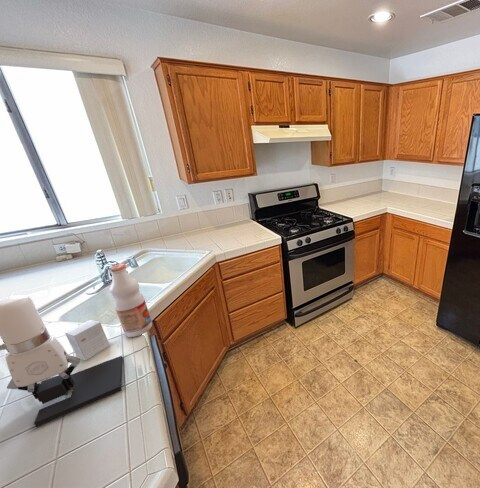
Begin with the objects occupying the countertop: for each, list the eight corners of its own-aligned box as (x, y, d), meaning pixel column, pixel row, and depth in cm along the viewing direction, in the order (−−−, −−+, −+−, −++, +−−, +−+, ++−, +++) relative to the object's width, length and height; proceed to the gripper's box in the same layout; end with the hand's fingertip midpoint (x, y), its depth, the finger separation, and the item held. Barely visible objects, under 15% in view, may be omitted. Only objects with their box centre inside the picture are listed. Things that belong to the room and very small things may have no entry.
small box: (101, 342, 99) (91, 318, 95) (110, 345, 97) (100, 321, 93) (75, 357, 92) (64, 332, 88) (85, 361, 90) (73, 335, 86)
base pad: (36, 427, 68) (33, 423, 67) (51, 386, 80) (49, 382, 80) (121, 390, 77) (119, 386, 77) (123, 358, 90) (121, 355, 89)
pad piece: (42, 404, 72) (36, 393, 70) (47, 392, 76) (41, 381, 74) (66, 394, 74) (61, 383, 73) (70, 383, 78) (64, 372, 77)
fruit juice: (122, 331, 105) (98, 267, 95) (148, 320, 111) (128, 259, 102) (129, 341, 99) (103, 274, 89) (156, 328, 105) (135, 264, 96)
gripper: (-27, 364, 62) (8, 420, 68) (69, 334, 71) (93, 385, 77) (-14, 347, 67) (18, 399, 73) (74, 321, 76) (96, 370, 82)
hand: (56, 392), depth 75 cm, fingers closed on pad piece, 5 cm apart
